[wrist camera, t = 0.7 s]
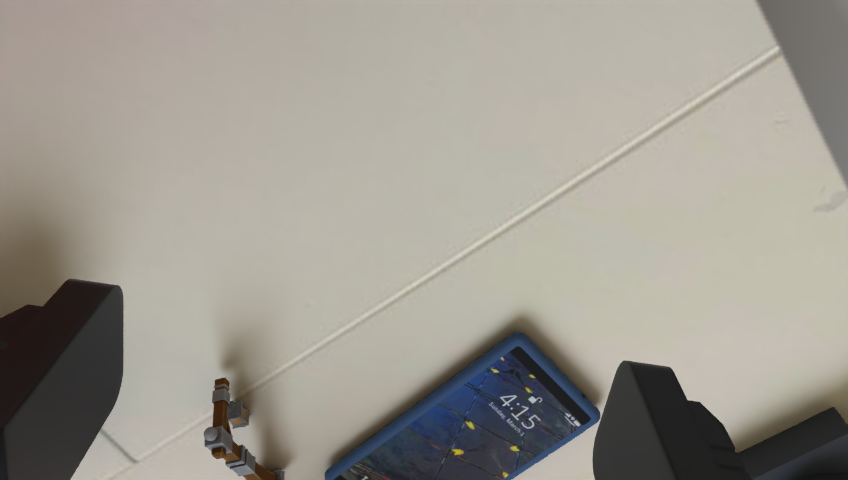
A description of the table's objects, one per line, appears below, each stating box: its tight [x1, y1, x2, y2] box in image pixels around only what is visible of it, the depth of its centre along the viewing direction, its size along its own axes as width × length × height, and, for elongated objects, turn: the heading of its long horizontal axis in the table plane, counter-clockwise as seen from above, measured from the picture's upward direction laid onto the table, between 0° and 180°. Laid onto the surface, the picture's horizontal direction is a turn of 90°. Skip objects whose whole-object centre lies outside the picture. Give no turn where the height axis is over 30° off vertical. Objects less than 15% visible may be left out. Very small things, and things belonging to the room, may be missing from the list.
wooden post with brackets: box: [204, 378, 284, 480], centre depth 44 cm, size 2×8×4 cm, turn 16°
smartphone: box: [325, 332, 600, 480], centre depth 45 cm, size 8×1×15 cm
